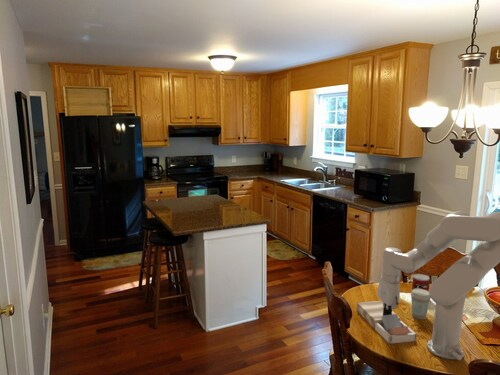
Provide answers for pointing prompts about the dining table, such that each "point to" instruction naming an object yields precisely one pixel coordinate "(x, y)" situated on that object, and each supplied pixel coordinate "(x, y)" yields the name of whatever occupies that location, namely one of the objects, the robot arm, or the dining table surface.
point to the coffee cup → (420, 303)
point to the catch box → (396, 338)
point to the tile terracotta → (399, 330)
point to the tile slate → (390, 321)
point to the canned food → (420, 282)
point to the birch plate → (372, 312)
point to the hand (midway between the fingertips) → (387, 316)
